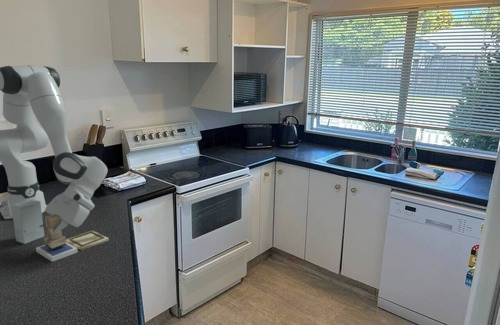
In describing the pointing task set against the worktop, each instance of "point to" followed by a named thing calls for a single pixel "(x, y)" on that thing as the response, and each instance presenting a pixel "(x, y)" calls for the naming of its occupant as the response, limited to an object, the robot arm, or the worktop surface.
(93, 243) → the box board
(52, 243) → the stamp
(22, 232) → the skincare box
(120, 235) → the worktop surface
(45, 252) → the ink pad
